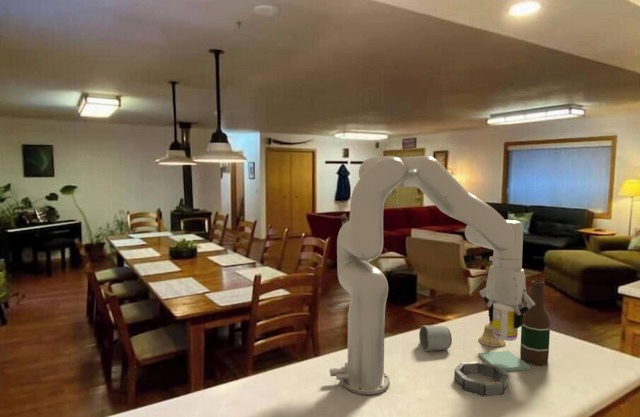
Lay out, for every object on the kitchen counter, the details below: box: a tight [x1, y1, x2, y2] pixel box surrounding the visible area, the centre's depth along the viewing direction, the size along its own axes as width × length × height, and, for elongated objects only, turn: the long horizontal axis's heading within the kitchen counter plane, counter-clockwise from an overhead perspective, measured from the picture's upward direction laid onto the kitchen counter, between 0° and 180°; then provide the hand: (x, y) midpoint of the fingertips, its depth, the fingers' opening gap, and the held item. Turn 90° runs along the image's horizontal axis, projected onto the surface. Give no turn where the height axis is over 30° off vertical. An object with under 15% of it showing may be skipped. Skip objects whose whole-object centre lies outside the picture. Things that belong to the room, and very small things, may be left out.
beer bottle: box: [519, 279, 551, 367], centre depth 121 cm, size 8×8×24 cm
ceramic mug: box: [419, 324, 453, 352], centre depth 131 cm, size 11×8×8 cm
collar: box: [453, 360, 509, 398], centre depth 109 cm, size 12×12×3 cm
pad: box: [477, 350, 531, 372], centre depth 121 cm, size 10×10×1 cm
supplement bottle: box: [493, 301, 519, 342], centre depth 119 cm, size 7×7×13 cm
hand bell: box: [478, 321, 507, 348], centre depth 134 cm, size 8×8×16 cm
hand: (505, 323), depth 120 cm, fingers closed on supplement bottle, 6 cm apart
